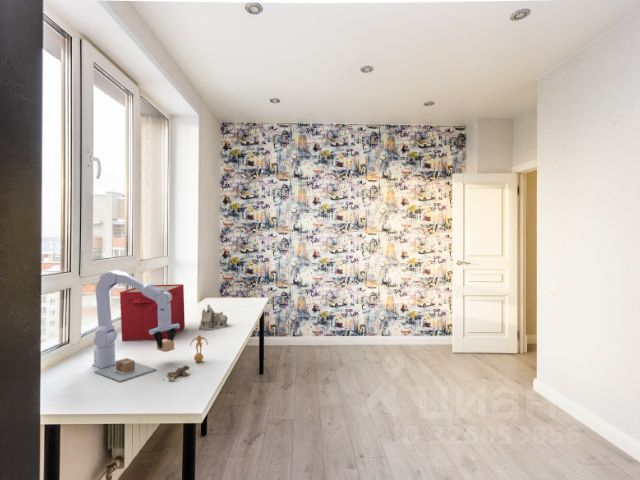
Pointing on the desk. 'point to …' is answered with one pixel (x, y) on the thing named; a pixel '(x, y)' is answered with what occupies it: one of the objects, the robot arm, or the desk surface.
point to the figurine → (198, 356)
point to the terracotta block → (166, 345)
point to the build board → (120, 376)
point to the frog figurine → (177, 374)
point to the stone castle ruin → (212, 320)
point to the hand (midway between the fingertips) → (165, 346)
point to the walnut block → (125, 365)
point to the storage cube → (148, 312)
